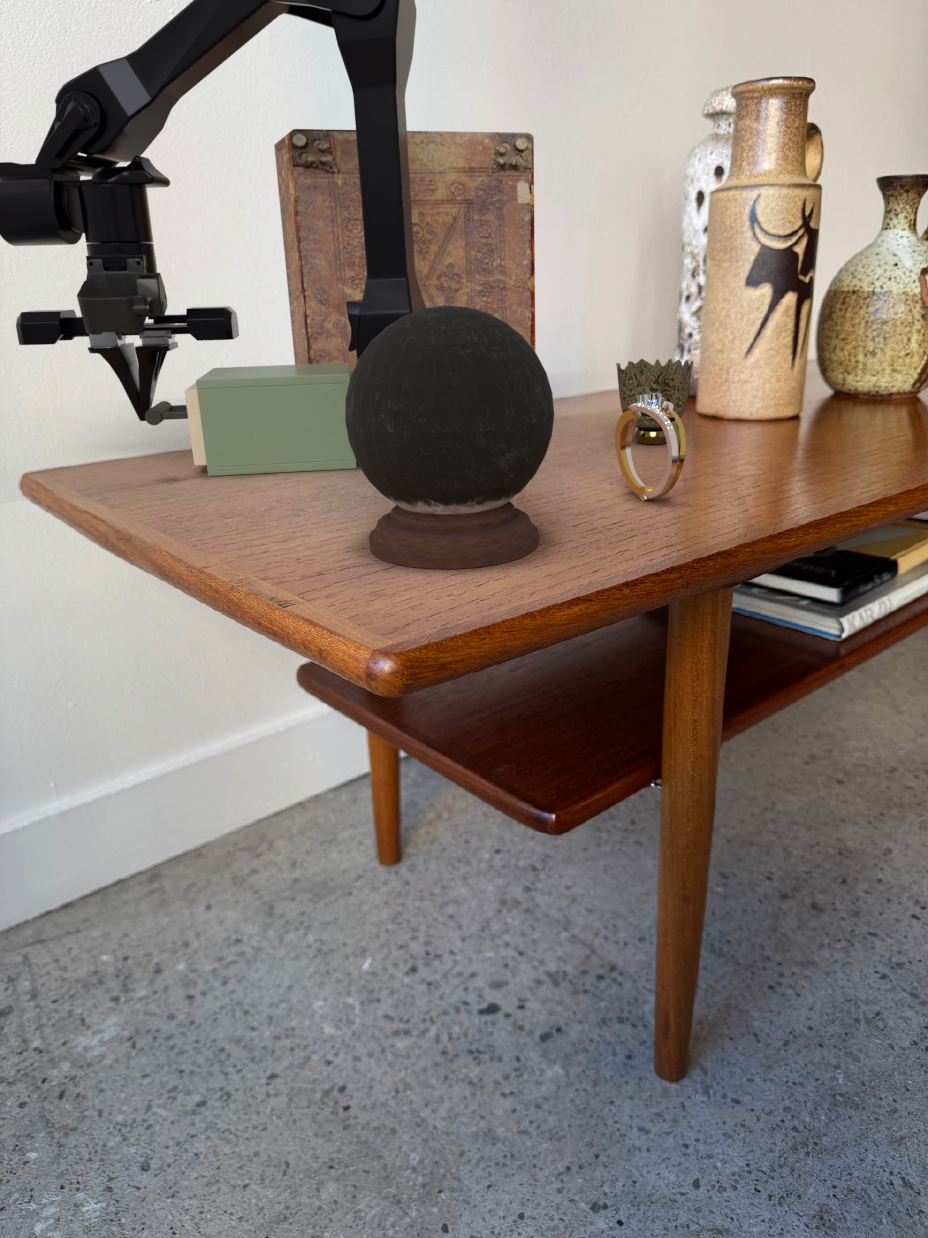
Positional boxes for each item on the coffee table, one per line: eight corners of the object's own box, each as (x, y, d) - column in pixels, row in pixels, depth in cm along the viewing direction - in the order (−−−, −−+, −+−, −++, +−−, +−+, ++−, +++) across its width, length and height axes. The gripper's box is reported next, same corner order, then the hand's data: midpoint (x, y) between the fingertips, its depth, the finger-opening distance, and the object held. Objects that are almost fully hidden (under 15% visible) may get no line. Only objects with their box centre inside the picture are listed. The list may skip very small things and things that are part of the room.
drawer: (146, 468, 84) (135, 392, 82) (167, 448, 94) (157, 379, 91) (331, 458, 86) (325, 384, 83) (332, 440, 96) (327, 372, 93)
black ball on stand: (469, 509, 70) (463, 300, 65) (595, 543, 60) (600, 301, 55) (317, 543, 62) (296, 309, 57) (434, 588, 53) (421, 312, 47)
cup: (645, 433, 99) (647, 356, 96) (704, 440, 94) (708, 359, 91) (600, 444, 94) (601, 363, 92) (659, 452, 89) (662, 367, 86)
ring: (605, 493, 74) (608, 390, 71) (639, 488, 75) (643, 387, 72) (654, 511, 68) (659, 400, 65) (691, 506, 69) (697, 397, 66)
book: (506, 417, 113) (502, 144, 102) (536, 427, 105) (536, 132, 94) (300, 434, 105) (273, 141, 95) (315, 447, 97) (288, 127, 87)
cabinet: (207, 476, 84) (195, 380, 81) (223, 453, 95) (213, 367, 92) (356, 468, 86) (349, 373, 83) (355, 446, 97) (349, 362, 94)
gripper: (-23, 242, 74) (14, 438, 79) (215, 238, 76) (234, 430, 81) (22, 246, 84) (52, 419, 90) (230, 243, 86) (247, 412, 92)
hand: (144, 420), depth 88 cm, fingers closed
